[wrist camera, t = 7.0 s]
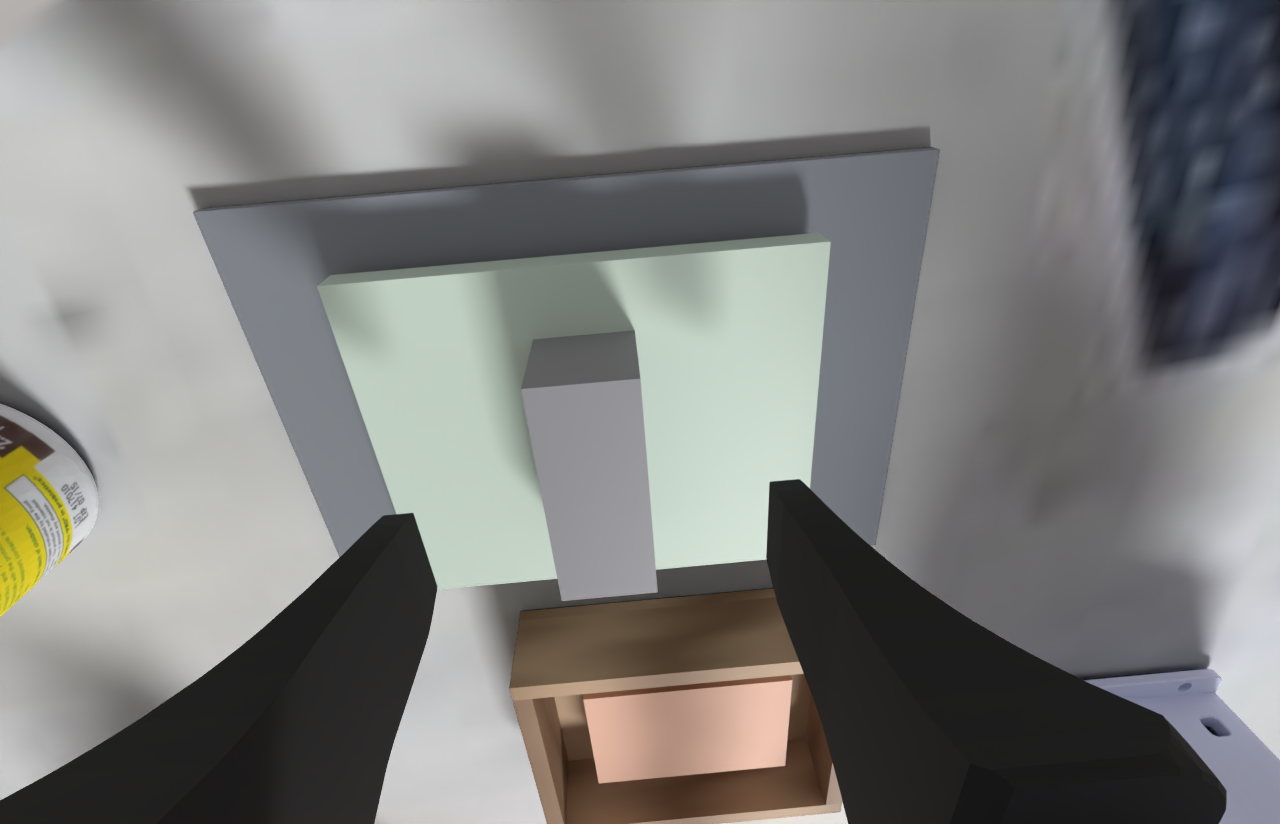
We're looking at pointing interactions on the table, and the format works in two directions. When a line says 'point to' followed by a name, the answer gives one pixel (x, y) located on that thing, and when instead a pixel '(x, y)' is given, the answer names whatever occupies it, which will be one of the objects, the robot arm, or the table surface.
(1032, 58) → the table surface
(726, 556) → the lid
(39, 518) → the supplement bottle
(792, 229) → the slate mat
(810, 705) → the walnut box
